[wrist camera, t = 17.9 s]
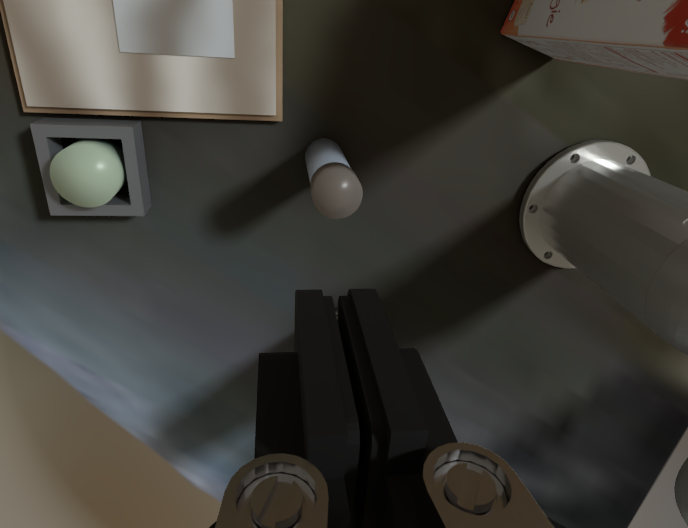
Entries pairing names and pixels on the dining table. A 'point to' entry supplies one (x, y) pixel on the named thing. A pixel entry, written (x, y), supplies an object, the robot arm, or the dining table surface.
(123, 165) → the button
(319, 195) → the slate
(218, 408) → the dining table surface
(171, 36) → the worksheet
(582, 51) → the cracker box
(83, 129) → the button housing
